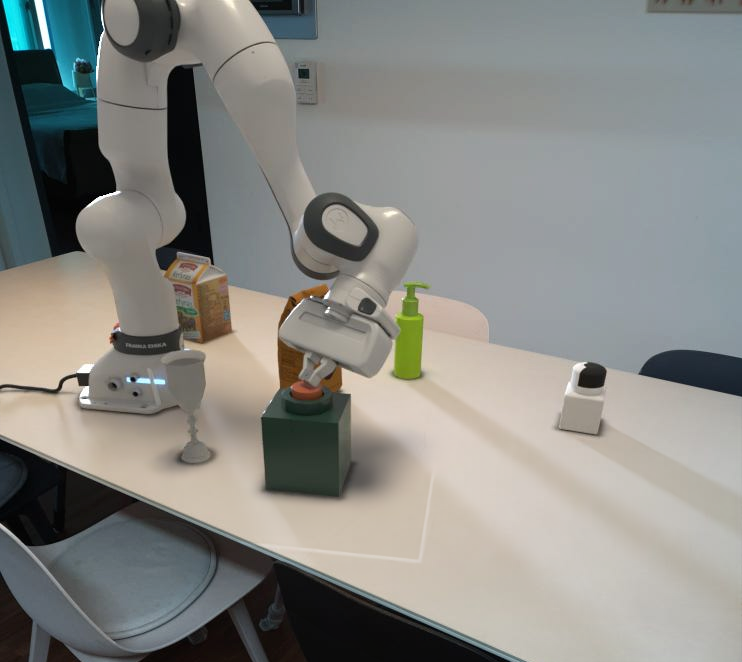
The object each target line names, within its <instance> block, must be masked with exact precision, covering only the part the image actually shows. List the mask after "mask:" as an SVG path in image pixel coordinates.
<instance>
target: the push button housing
mask: <svg viewBox="0 0 742 662" xmlns="http://www.w3.org/2000/svg"><path fill="white" fill-rule="evenodd" d="M291 387H292V386H290V387H288V388H285V389H280V388H278V390H277V391H276V392H275V394H274V396H273V397H272V399H271V400H270V402H269V403H268V405H267V407H266V408H265V410H264V411H263V413H262V414H261V416H260V425H261V438H262V439H261V440H262V454H263V455H262V456H263V469H264V485H265V490H266V491H274V492H285V493H296V494H307V495H318V496H329V497H340V496H341V493H342V489H343V486H344V485H345V481H346V478H347V475H348V472H349V470H350V466H351V464H352V394H351V393H345V392H344V393H343V392H335V393H333V392H332V391H331V390H330V389H329V388H328V387H325V386H322V393H323V397H321V398H318V399H315V400H298V399H295V398H292V391H291Z"/></svg>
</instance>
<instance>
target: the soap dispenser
mask: <svg viewBox="0 0 742 662" xmlns="http://www.w3.org/2000/svg"><path fill="white" fill-rule="evenodd" d="M431 287H432V286H431V284H428V283H424V282H422V281H421V282H420V281H405V282H404V284H403V288H406V296H405V297H403V298H402V300H401V301H402V302H401V312H398V313H396V314H395V322H396V323H397V325H398V326H399V328H400V329H401V331H400V334H399V335H398V337H397V338H396V339H394V359H393V361H394V362H393V364H394V365H393V375H394V376H395V377H397V378H399V379H403V380H413V379H417V378H420V376H421V374H422V373H421V372H422V355H423V354H422V353H423V337H424V336H423V335H424V318H425V317H424V314H423V313H420V312H419V301H420V300H419V298H418V297H416V289H418V288H419V289H425V290H429V289H431Z"/></svg>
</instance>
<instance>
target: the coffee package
mask: <svg viewBox="0 0 742 662" xmlns="http://www.w3.org/2000/svg"><path fill="white" fill-rule="evenodd" d="M329 289H330V288H329V287H328V285H327V284H326V283H323V284H319V285H317V286H313V287H310V288H306V289H302V290H300V291H298V292H295V293H294V294H292V295H290V296H288V299H287V301H286V304H285V306H284V309H283V310H282V311H283V312H282V313H281V315H280V317H279V321H278V327H277V343H276V345H277V366H278V379H279V380H278V381H279V389H285V388H288V387H290V386H292V385H293V384H294V383H297V382H300V381H301V380H300V379H299V378H298V376H299V374H300V373H301V371H302V369H303V359H304V355H305V353H303V352H301V351H298V350H296V349H293V348H290V347H289V346H287V345H286V344H285V343H284V342H283V341H282V340H281V339H280V338H279V329H280V327H281V326H282V324H283V323H284V322H285V320H286V319H287V317H288V316H289V315H290V313H291V312H292V311H293V310H294V309H295V307H296V306H297V305H298V304H300V303H301V302H302V301H303V300H304V299H307V298H309V297H311V296H313V295H314V296H318V297H320V298H325V296H326V294H327V293H328V291H329ZM310 301H311V300H310ZM320 361H321V359H320ZM320 361H319V362H318V364H317V365H316V364H314V369H313V371H314V370H315V369H317V368H318V367H319V366H320V365H321V363H320ZM319 383H320V384H321V385H322V386H325V387H328V388H329V389H330V390H331V391H332V392H333V393H338V392H339V391H340V390H341V388H342V386H343V368H341V367H339V366H336V367H335V369H334V371H333V372H332V373H330V374H329V375H327V376H326V377H324V378H323V379H321V381H320V382H319Z"/></svg>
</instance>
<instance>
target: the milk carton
mask: <svg viewBox="0 0 742 662" xmlns="http://www.w3.org/2000/svg"><path fill="white" fill-rule="evenodd" d="M167 268H168V269H166V271H165V273H164V274H163V276H164V277H165V278H167V279H168V280H169V281H170V282H171V283H172V285H173V287H174V290H175V298H176V306H177V314H178V322H179V324H180V325H181V329H182V333H183V338H184V340H188V341H191V342H196V343H199V344H204V343H207V342H209V341H212V340H214V339H217V338H220V337H223V336H225V335H228V334H230V333H232V332H233V328H232V327H233V325H232V316H231V315H232V314H231V304H230V294H229V293H230V292H229V282H228V274H227V273H226V272H225V271H224V270H222V269H221V268H219V267H217V266H215V265H213V264H212V261H211V258H210V257H206V256H202V255H196V254H191V253H185V252H181V251H177V252H176V259H175V260H174V261H173V262H172V263H171V264H170V265H169V267H167Z"/></svg>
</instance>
